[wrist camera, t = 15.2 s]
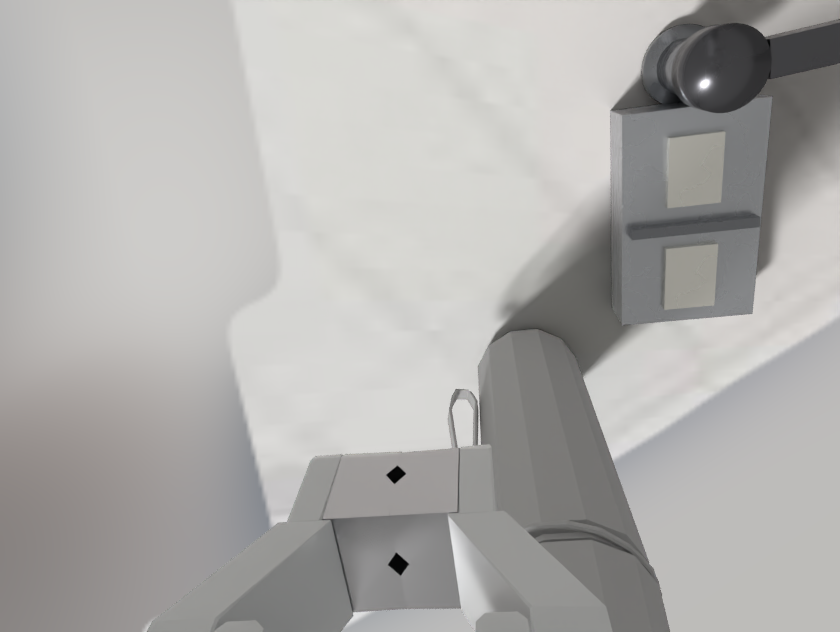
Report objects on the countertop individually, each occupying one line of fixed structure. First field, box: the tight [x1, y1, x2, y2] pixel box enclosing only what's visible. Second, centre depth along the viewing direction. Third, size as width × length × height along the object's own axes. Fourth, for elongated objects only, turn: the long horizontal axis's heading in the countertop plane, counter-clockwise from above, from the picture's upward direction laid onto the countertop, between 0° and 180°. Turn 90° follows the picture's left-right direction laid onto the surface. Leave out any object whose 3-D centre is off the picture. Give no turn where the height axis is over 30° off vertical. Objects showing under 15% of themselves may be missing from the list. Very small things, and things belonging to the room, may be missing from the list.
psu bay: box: [610, 94, 773, 325], centre depth 37 cm, size 13×8×4 cm, turn 8°
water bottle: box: [448, 329, 670, 632], centre depth 33 cm, size 9×8×25 cm
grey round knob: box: [641, 24, 705, 105], centre depth 33 cm, size 4×4×4 cm
